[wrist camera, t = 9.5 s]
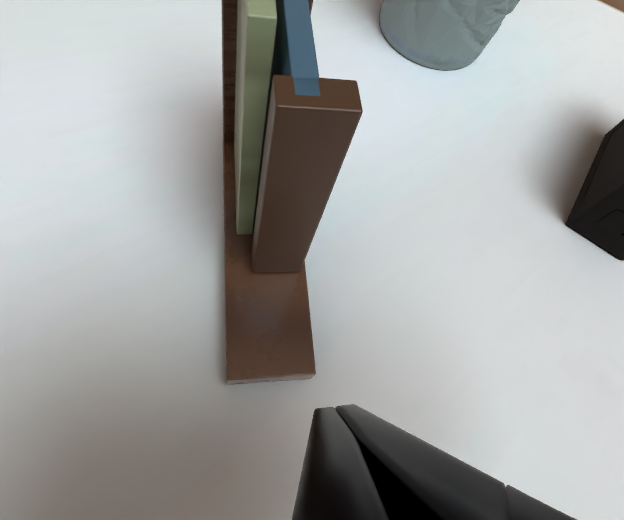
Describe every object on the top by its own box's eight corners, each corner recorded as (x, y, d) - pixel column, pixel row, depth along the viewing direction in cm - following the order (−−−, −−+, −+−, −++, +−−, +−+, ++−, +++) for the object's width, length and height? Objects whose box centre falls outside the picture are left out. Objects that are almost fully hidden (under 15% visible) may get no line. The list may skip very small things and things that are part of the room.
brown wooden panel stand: (311, 378, 20) (427, 269, 9) (226, 384, 20) (227, 273, 8) (289, 146, 26) (340, -109, 14) (223, 144, 25) (220, -130, 13)
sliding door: (300, 272, 21) (364, 111, 11) (252, 273, 21) (275, 106, 11) (290, 167, 24) (335, -36, 14) (247, 166, 23) (263, -46, 14)
